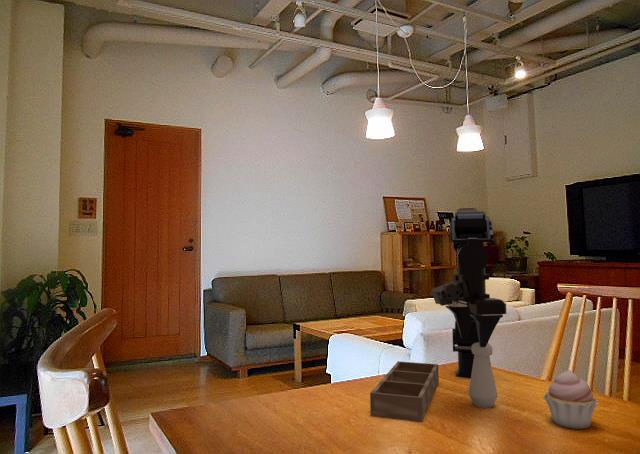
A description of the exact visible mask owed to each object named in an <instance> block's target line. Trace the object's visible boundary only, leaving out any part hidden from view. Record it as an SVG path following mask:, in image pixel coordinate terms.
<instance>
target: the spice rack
mask: <svg viewBox="0 0 640 454" xmlns="http://www.w3.org/2000/svg"><path fill="white" fill-rule="evenodd" d="M439 381H440V380H439V364H438V363H423V362H413V361H412V362H410V361H397V362H396V363H395V364H394V365H393V366H392V367H391V368H390V370H388V372H387V373H386V374H385V376H383V378H381V380H380V381H379V382H378V384H377V385H376V386H375V387H374V388H373V389H372V391H371V392H369V393H370V394H369V395H370V397H369V398H370V401H369V404H370V408H369V409H370V417H379V418H387V419H394V420H395V419H396V420H402V421H411V422H413V421H414V422H420V423H422V422H423V420H424V418H425V416H426V414H427V411H428V408H429V406H430V404H431V401H432V399H433V397H434V394H435V392H436V390H437V388H438V385H439Z"/></svg>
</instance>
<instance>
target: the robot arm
mask: <svg viewBox="0 0 640 454" xmlns="http://www.w3.org/2000/svg"><path fill="white" fill-rule="evenodd" d="M449 230H450V231H449V234H450V237H449V239H450V243H452V244H453V245H452V247H453V248H452V249H453V250H454V252H455V253H456V259H457V260H456V263H457V266H456V268H457V272H456V273H454V274H453V275H452V281H449V282H447V283H444V284H442V285H438V286H436V287H434V288H432V289H431V290H430V292H431V294H432V297H433V300H434V303H435V304H436V305H439V306H442V307H443V306H444V307H445V308H446V309H448V311H450V312H451V313H452V314H453V316H454V319H455V321H454V328H452V352H453V353H454V352H457V365H458V368H457V370H456V371H455V372H456V373H455V375H456V377H467V378H471V374H472V367H473V361H474V354H473V353H472V350H471V347H472V345H473V344H474V343H479V345H480V347H486V345H487V344H489V341H490V339H491V337H492V334H493V333H494V331H495V328H496V327H497V325H498V323H499V322H500V320H501V318H503V317H504V315H507V303H506V302H504V300H503V299H499V298H495V297H490V294H489V293H487V292H486V291H487V290H486V289H487V288H486V281H487V280H488V281H489V280H490V274H487V273H486V267H487V265H488V263H489V254H488V251H487V250H486V248H485V247H484V243H491V240H493V239H494V231H493V230H494V229H493V223H492V220H490V216H486V211H478V208H475V207H461V208H460V207H459V208H457V209H456V212H455V213H454V217H452V216H451V221H450V223H449Z"/></svg>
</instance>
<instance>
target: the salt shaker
mask: <svg viewBox="0 0 640 454" xmlns="http://www.w3.org/2000/svg"><path fill="white" fill-rule="evenodd" d="M471 350H472V353H473V354H474V361H473V367H472V374H471V377H470V379H469V380H470V381H469V386H468V394H469V397H470V399H471V402H472V404H473V405H474V406H475V407H479V408H482V409H488V407H489V408H493V407H494V404H495V402H496V400H497V398H498V392H497V385H496V381H495V376H494V372H493V368H492V367H493V366H492V362H491V358H490V356H492V355H493V354H494V353H493V347H492V345H491V344H490V343H488V344H487V345H486V347H480V345H479V343H474V344H473V345H472V347H471Z"/></svg>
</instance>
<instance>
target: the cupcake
mask: <svg viewBox="0 0 640 454" xmlns="http://www.w3.org/2000/svg"><path fill="white" fill-rule="evenodd" d="M593 397H594V393H593V391H592V388H590V385H589V384H588V383H587V382H586V381H585V380H583V379H581V378H579V377H578V376H577V375H576V373H574V372H573V371H572V370H571V369H568V370H566V371H563V372H561V373H560V374H558V375H557V376H556V377H555V379H554V381H553V382H552V383H551V384H550V385H549V386H548V392H545V393H544V395H543V398H544V400H545V402H546V404H547V406H548V408H549V411H550V412H549V413H550V415H551V420H552V421H553V423H554V424H555V425H558V426H561V427H564V428H568V429H575V430H582V429H584V430H585V429H587V428H588V429H589V427H590V426H591V425H592V420H593V415H594V414H593V413H594V410H595V409H596V407H597V405H598V402H599V400H598V399H596V398H593Z"/></svg>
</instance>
